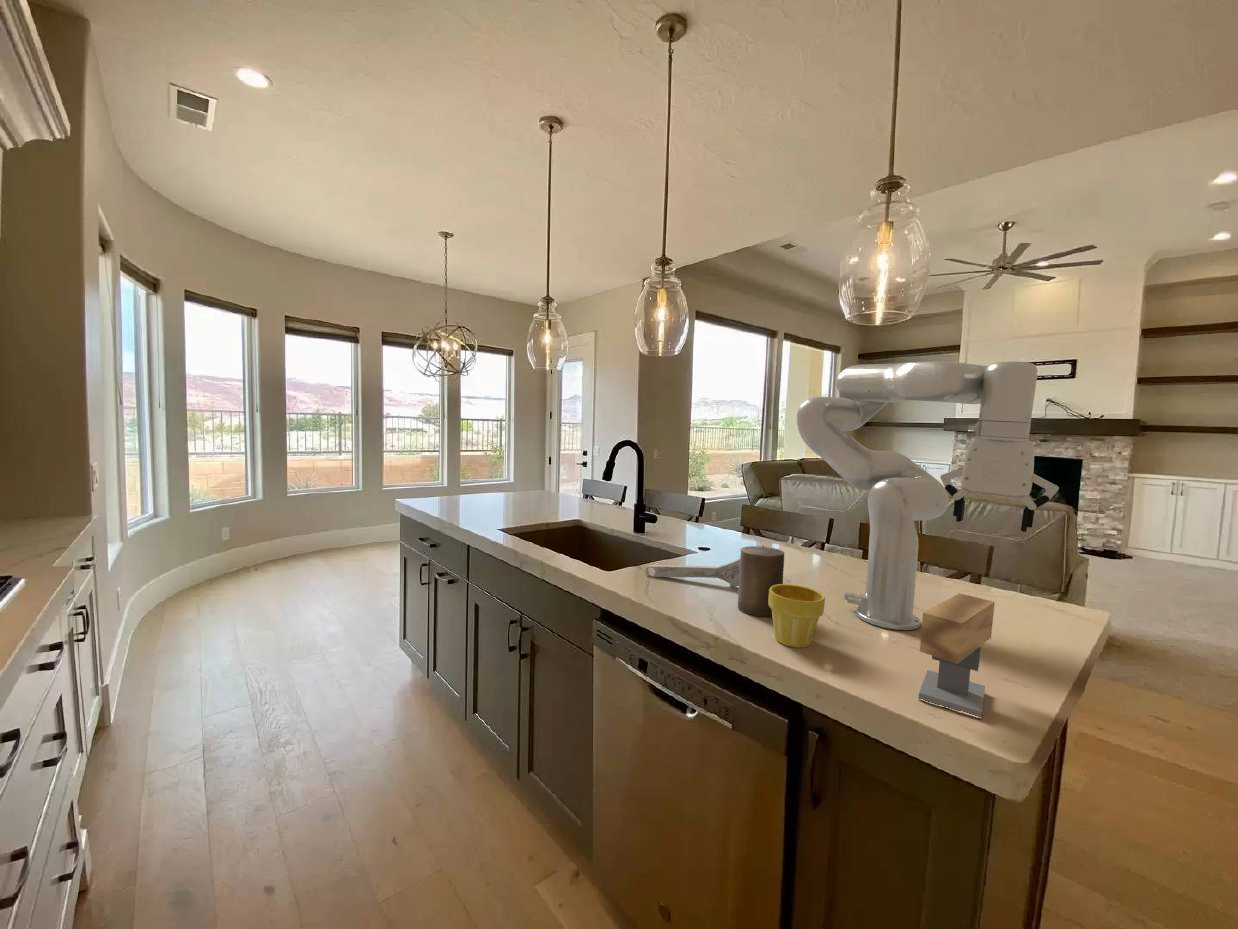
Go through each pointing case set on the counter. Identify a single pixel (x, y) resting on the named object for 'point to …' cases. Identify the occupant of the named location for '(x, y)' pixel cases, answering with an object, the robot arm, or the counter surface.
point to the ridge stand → (955, 685)
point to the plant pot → (795, 613)
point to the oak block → (956, 627)
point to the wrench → (700, 572)
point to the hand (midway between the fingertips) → (990, 525)
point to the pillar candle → (758, 578)
